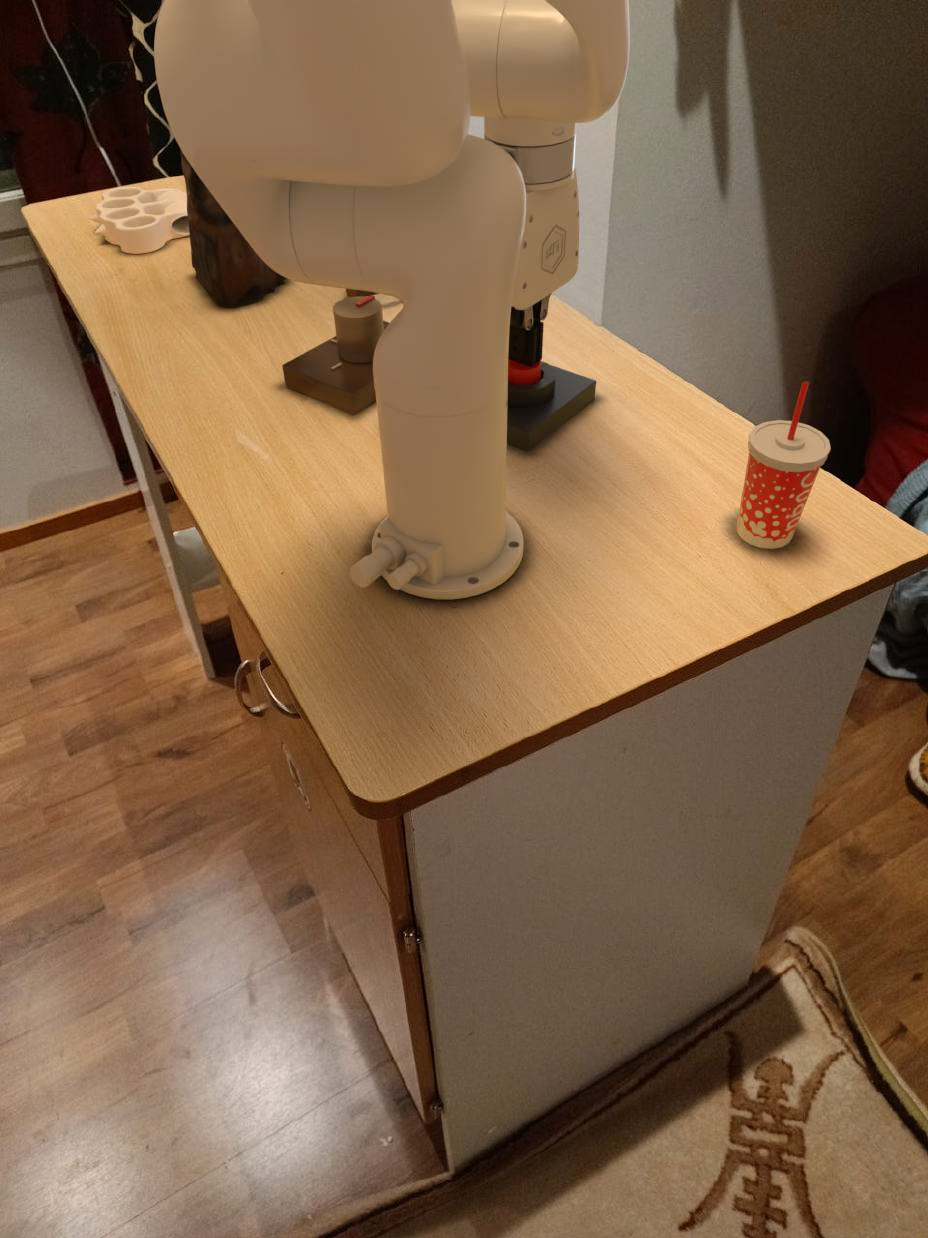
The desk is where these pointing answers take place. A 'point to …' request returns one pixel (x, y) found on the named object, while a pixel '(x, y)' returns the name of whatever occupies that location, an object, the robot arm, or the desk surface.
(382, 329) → the dimmer knob
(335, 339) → the dimmer panel
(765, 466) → the beverage cup
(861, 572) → the desk surface
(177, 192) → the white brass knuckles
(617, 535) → the desk surface
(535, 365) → the power button
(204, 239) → the owl
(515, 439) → the switch block
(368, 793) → the desk surface
